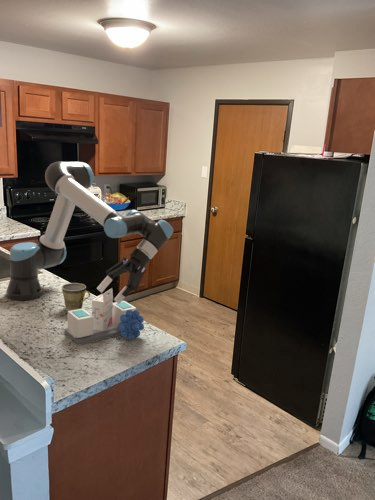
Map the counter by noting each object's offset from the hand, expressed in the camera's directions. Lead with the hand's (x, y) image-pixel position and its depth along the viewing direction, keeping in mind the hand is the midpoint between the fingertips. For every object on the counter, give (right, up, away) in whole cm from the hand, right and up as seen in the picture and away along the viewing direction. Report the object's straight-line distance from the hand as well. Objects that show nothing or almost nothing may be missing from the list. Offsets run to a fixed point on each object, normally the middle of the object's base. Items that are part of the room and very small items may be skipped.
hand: (107, 296), depth 158 cm
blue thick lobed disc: (+10, -16, -2) cm, 19 cm away
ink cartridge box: (-3, -12, +3) cm, 13 cm away
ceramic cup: (-17, -8, +22) cm, 29 cm away
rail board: (-2, -14, +3) cm, 14 cm away
